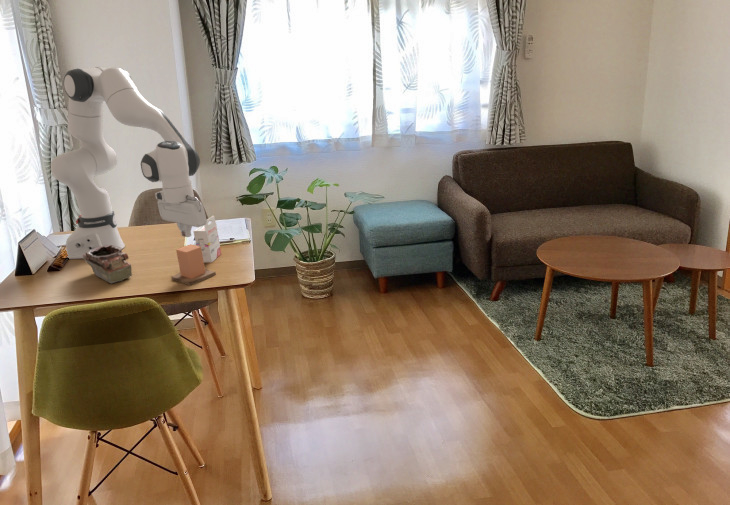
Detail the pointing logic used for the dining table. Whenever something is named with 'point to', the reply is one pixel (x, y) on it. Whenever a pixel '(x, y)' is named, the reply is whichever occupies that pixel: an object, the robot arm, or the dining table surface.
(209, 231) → the ink cartridge box
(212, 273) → the post stand
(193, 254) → the salmon pink toy brick
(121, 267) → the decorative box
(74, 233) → the robot arm
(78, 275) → the dining table surface
